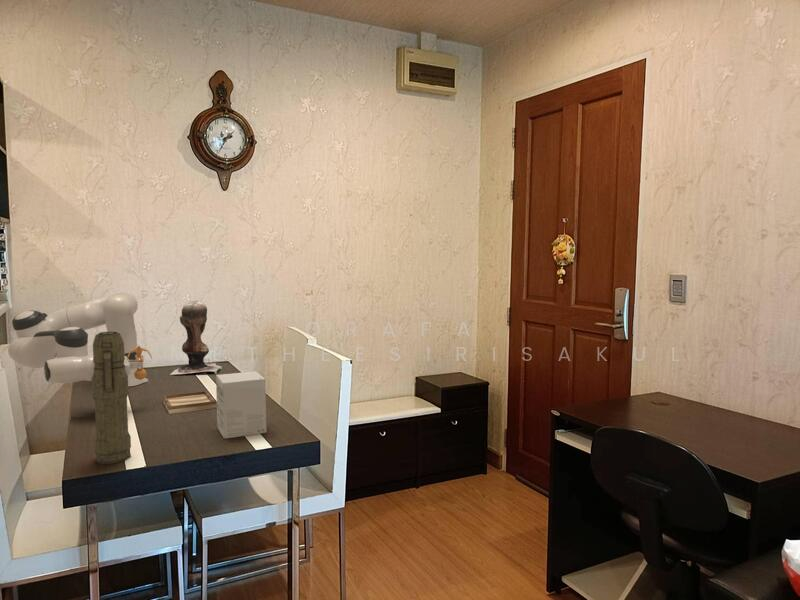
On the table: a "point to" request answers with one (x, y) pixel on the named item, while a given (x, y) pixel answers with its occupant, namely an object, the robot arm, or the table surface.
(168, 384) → the table surface
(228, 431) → the supplement box
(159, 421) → the table surface
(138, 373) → the figurine
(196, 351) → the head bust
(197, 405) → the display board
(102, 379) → the olive green bag
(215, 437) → the table surface
